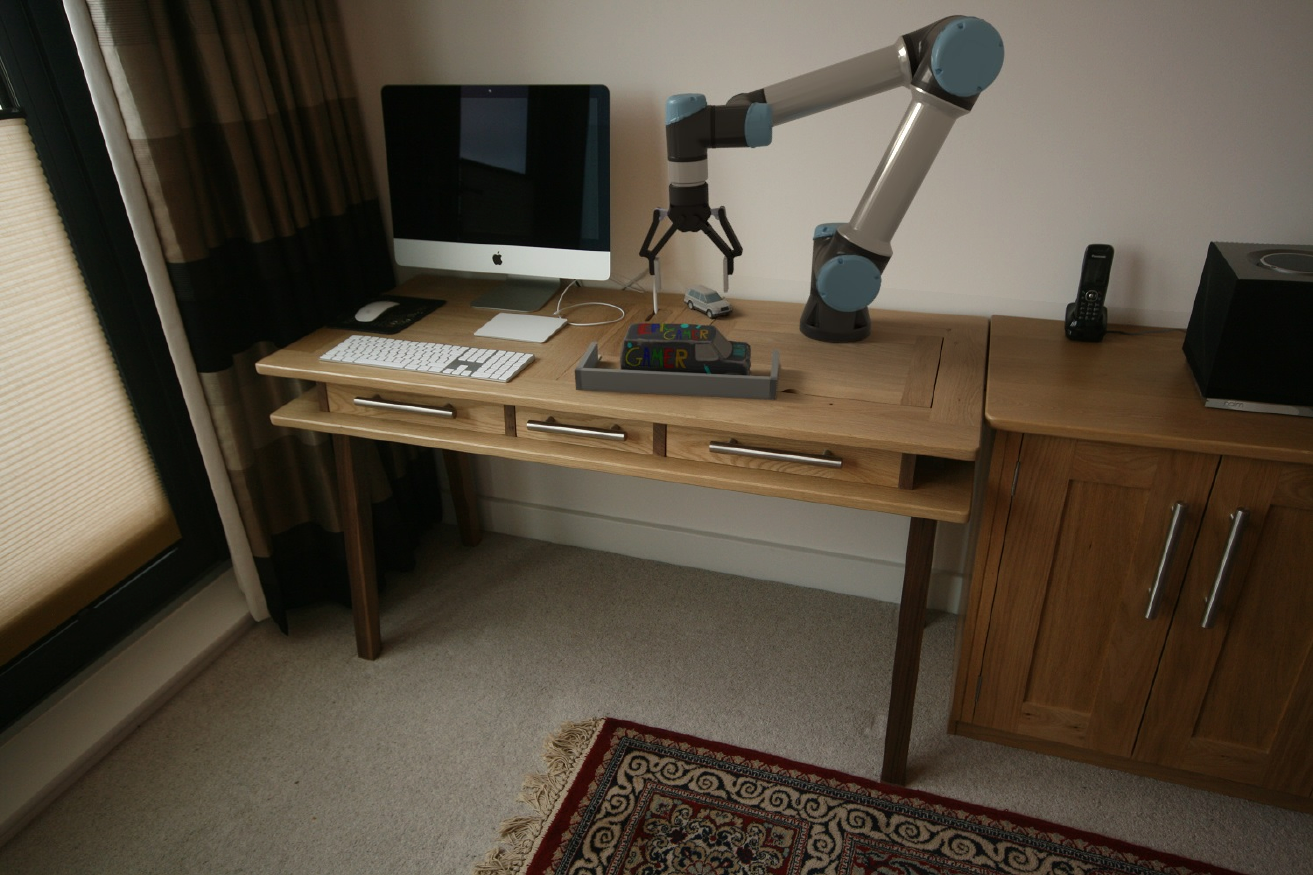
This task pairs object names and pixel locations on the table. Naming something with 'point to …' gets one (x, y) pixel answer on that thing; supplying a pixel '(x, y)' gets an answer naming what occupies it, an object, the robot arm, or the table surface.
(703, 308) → the toy car
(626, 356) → the toy van
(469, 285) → the table surface
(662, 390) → the bay
